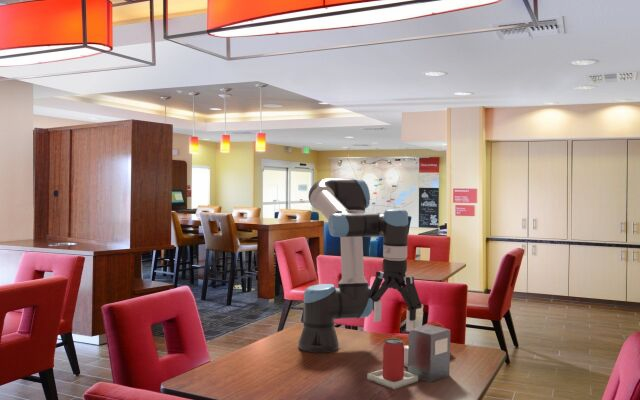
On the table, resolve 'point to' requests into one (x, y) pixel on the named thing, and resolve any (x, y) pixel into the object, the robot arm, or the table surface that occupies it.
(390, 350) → the beer can
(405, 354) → the white egg
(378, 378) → the tray
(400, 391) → the table surface
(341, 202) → the robot arm
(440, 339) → the box
